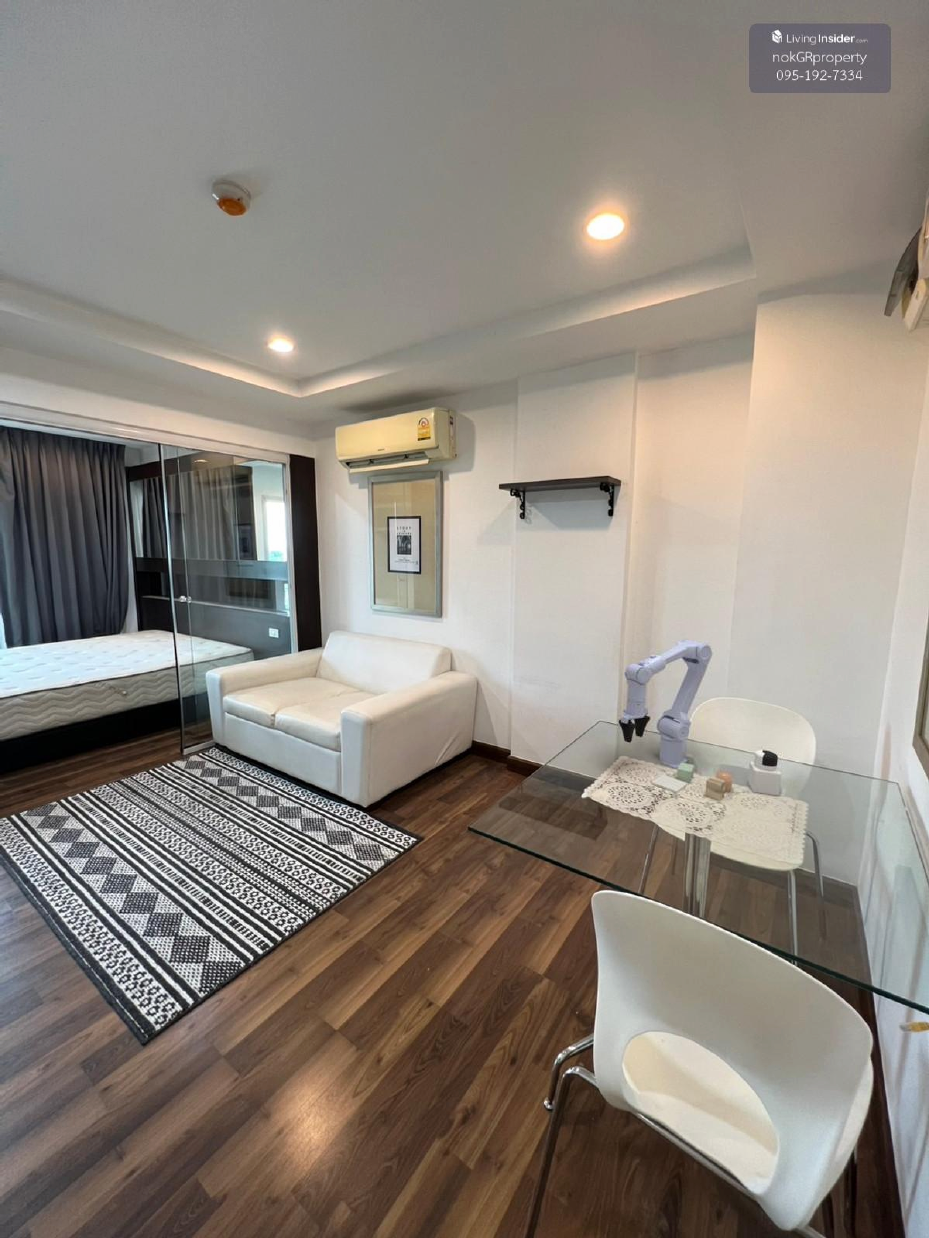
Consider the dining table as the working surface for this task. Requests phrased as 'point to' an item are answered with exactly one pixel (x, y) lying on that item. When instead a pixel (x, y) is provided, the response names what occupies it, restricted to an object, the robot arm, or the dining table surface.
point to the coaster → (669, 783)
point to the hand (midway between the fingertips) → (633, 738)
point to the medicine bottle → (764, 773)
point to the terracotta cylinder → (725, 779)
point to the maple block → (715, 788)
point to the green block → (685, 772)
